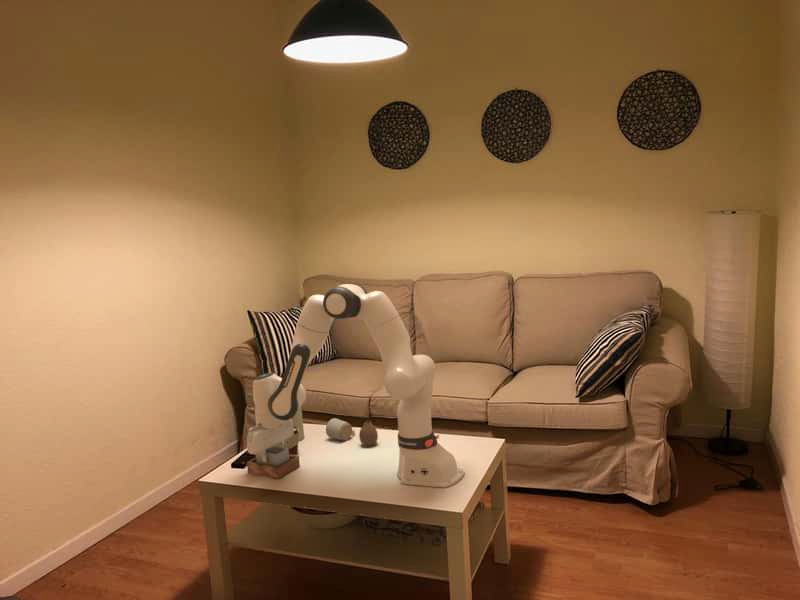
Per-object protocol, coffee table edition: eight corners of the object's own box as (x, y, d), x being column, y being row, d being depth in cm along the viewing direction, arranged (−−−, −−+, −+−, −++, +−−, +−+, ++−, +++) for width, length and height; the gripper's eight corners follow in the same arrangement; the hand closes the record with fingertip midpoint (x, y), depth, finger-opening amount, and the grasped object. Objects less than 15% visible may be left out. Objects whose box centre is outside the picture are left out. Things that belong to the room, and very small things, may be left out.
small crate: (289, 460, 242) (288, 448, 241) (278, 467, 237) (276, 454, 236) (268, 456, 247) (267, 444, 246) (256, 462, 242) (255, 450, 241)
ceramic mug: (341, 443, 263) (339, 424, 262) (326, 440, 268) (324, 421, 267) (360, 435, 271) (358, 416, 270) (345, 432, 276) (343, 413, 275)
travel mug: (306, 435, 276) (302, 391, 273) (301, 442, 268) (297, 397, 265) (286, 435, 276) (282, 392, 274) (281, 443, 269) (277, 398, 266)
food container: (305, 448, 261) (302, 423, 259) (301, 454, 255) (298, 429, 253) (273, 449, 262) (271, 424, 260) (269, 456, 256) (266, 430, 254)
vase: (362, 441, 264) (360, 419, 262) (379, 441, 263) (378, 419, 261) (358, 448, 257) (356, 425, 256) (376, 447, 256) (374, 425, 255)
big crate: (300, 467, 243) (299, 456, 242) (278, 479, 234) (277, 468, 233) (270, 461, 251) (269, 450, 250) (247, 473, 241) (246, 462, 241)
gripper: (254, 430, 229) (258, 469, 231) (294, 411, 246) (298, 448, 248) (240, 428, 232) (245, 467, 234) (281, 409, 249) (285, 446, 251)
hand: (272, 457), depth 241 cm, fingers closed on small crate, 6 cm apart
